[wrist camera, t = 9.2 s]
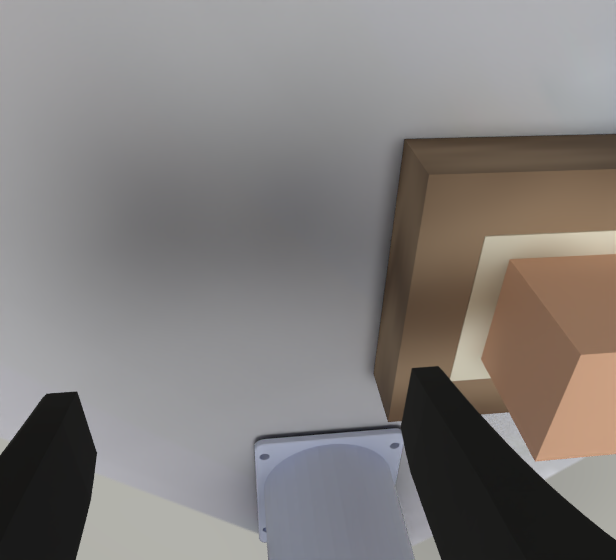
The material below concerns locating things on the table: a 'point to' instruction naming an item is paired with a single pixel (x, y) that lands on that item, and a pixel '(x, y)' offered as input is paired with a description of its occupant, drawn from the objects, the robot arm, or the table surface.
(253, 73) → the table surface
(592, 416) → the cube
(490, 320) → the plinth
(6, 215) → the table surface
